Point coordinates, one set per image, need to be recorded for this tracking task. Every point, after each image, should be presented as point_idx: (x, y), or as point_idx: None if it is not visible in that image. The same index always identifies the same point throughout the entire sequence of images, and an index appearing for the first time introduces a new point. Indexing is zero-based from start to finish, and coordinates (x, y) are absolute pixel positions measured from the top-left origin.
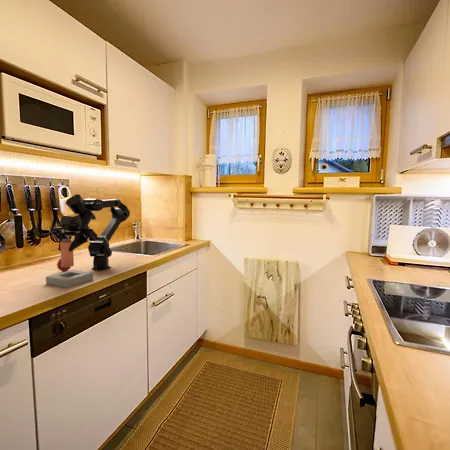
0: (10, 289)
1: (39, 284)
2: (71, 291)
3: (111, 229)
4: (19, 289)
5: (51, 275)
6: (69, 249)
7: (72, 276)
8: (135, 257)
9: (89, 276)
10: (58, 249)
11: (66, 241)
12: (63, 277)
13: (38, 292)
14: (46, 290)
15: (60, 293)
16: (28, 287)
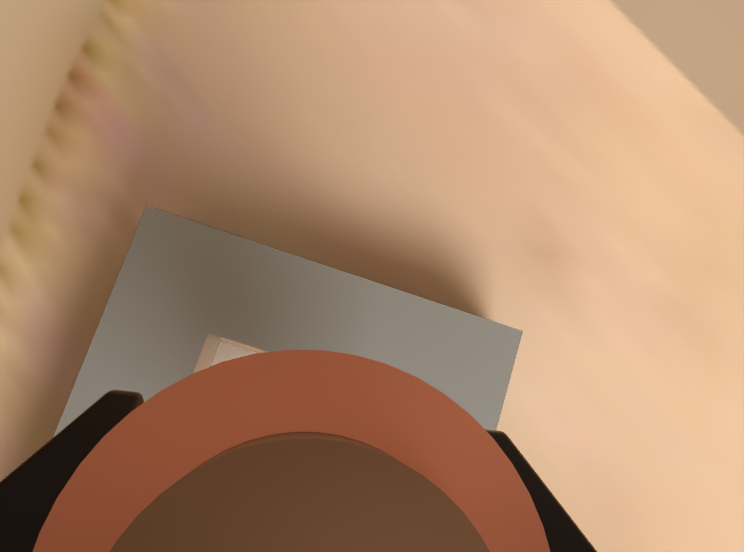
0: (698, 146)
1: (552, 316)
2: (53, 129)
3: None
4: (618, 152)
5: (491, 389)
6: (107, 399)
7: (178, 378)
8: None
9: None
10: (495, 430)
11: (185, 472)
12: (272, 320)
13: (373, 84)
14: (337, 142)
15: (134, 68)
16: (584, 214)
